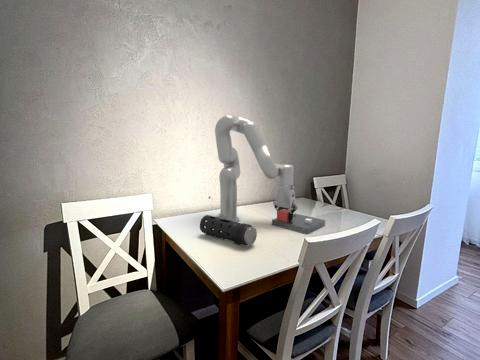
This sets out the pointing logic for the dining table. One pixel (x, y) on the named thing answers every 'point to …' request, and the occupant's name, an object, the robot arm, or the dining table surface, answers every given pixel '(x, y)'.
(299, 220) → the board
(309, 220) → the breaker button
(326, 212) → the dining table surface
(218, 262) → the dining table surface
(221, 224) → the muzzle brake
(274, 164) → the robot arm
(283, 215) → the red block
